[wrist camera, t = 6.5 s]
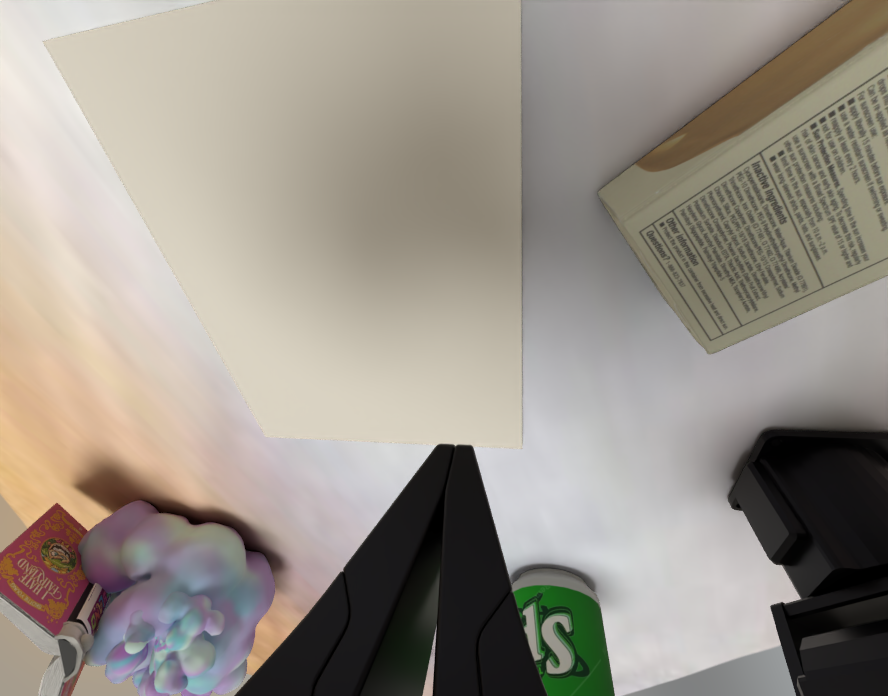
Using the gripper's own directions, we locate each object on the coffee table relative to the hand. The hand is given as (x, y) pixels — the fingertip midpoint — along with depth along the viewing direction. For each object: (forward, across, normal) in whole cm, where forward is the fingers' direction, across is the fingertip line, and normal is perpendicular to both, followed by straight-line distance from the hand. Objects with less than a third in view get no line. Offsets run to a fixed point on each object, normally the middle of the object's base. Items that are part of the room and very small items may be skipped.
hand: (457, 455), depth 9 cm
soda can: (+10, -4, +29) cm, 31 cm away
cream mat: (+10, +7, 0) cm, 13 cm away
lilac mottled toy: (+10, +33, +28) cm, 44 cm away
